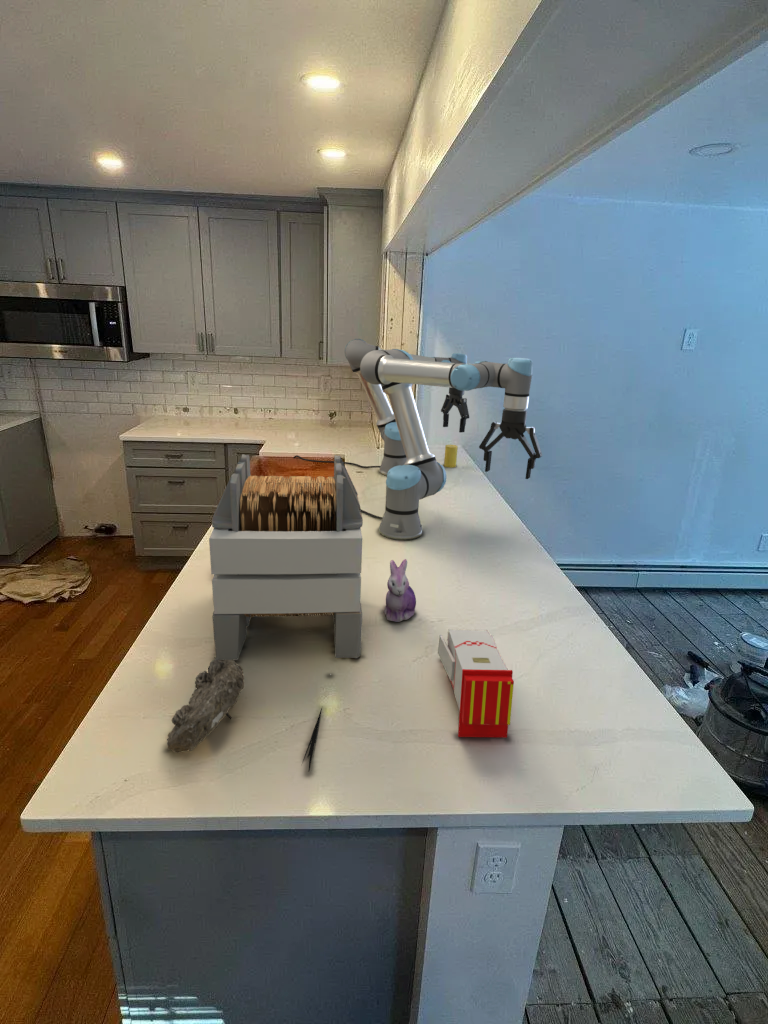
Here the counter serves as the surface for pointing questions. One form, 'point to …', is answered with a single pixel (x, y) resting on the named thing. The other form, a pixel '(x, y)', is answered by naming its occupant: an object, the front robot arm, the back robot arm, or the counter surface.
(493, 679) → the toy
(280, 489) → the record crate
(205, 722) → the fossil
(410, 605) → the figurine
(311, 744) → the feather
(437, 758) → the counter surface
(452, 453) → the canister
